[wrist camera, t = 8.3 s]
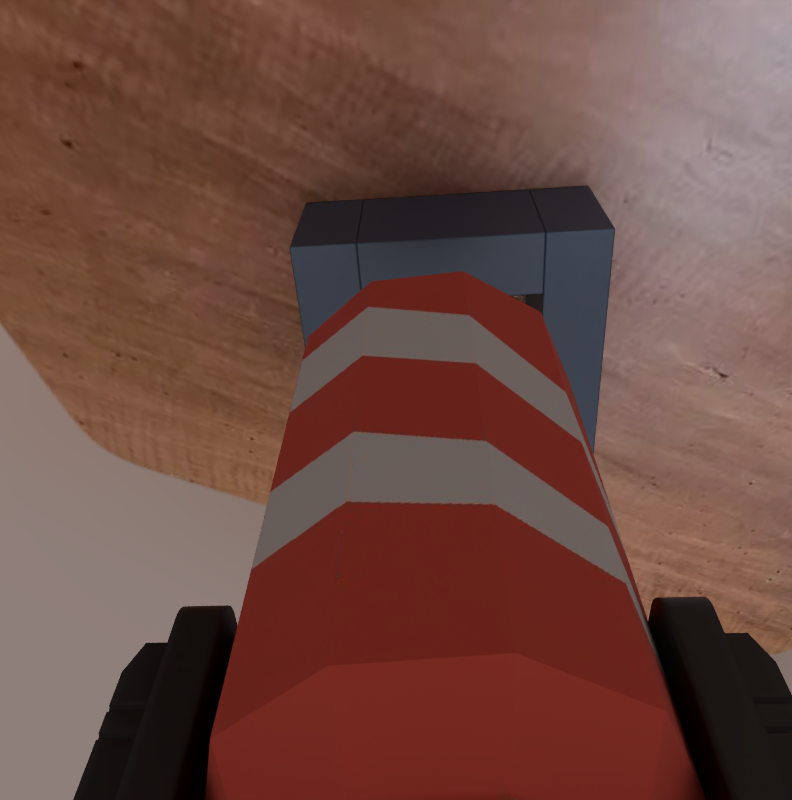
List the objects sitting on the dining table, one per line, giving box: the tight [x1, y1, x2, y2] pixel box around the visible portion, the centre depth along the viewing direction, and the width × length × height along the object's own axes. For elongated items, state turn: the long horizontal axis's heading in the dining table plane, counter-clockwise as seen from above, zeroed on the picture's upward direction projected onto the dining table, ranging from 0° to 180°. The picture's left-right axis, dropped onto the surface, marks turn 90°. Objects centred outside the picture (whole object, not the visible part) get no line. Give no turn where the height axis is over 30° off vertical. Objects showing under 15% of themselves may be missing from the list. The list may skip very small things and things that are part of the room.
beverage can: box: [205, 271, 706, 800], centre depth 13 cm, size 6×6×12 cm
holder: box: [290, 186, 615, 454], centre depth 33 cm, size 12×12×5 cm
